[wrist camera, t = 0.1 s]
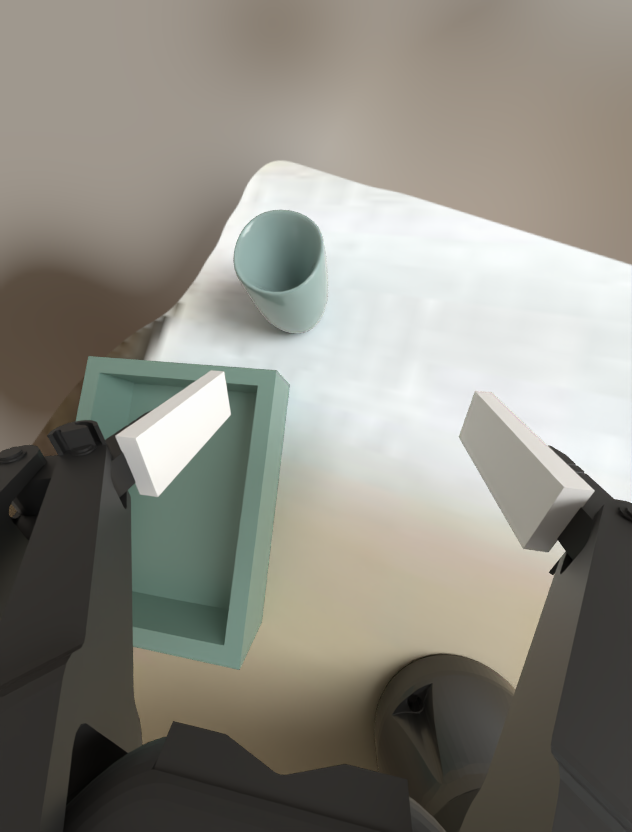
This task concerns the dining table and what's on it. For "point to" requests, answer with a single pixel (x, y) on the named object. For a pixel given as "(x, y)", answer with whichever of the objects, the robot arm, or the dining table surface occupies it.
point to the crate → (199, 509)
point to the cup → (284, 269)
